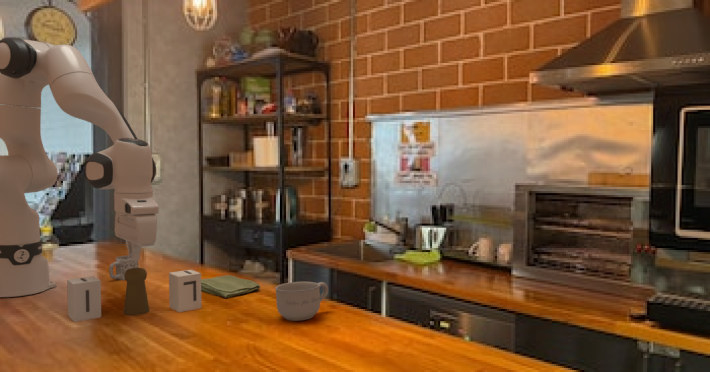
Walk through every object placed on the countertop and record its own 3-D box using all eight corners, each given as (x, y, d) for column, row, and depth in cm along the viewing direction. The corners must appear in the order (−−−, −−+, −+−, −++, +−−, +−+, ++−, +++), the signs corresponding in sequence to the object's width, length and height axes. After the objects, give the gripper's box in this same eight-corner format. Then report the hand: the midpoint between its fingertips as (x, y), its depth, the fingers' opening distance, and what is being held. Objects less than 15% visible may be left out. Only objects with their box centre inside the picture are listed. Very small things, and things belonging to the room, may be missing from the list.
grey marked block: (68, 316, 133) (67, 279, 132) (94, 311, 137) (93, 275, 136) (74, 322, 128) (73, 283, 127) (101, 317, 132) (100, 279, 131)
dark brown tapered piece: (140, 316, 133) (139, 271, 132) (118, 314, 134) (117, 270, 133) (154, 309, 139) (153, 266, 138) (132, 307, 140) (132, 265, 139)
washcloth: (226, 301, 148) (225, 289, 148) (190, 290, 160) (190, 279, 160) (263, 291, 158) (263, 281, 158) (227, 282, 170) (227, 272, 170)
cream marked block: (169, 307, 141) (168, 272, 140) (191, 303, 145) (191, 269, 144) (178, 312, 136) (178, 276, 135) (201, 308, 140) (201, 272, 139)
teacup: (284, 327, 125) (284, 292, 124) (269, 314, 134) (269, 282, 134) (339, 318, 131) (339, 285, 131) (321, 307, 141) (321, 276, 140)
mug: (128, 274, 179) (127, 254, 178) (143, 276, 176) (142, 256, 175) (102, 281, 170) (101, 260, 169) (117, 283, 167) (117, 261, 166)
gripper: (107, 201, 141) (108, 254, 142) (134, 208, 125) (134, 267, 126) (133, 200, 145) (133, 251, 146) (161, 206, 129) (161, 264, 130)
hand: (134, 259), depth 136 cm, fingers closed
